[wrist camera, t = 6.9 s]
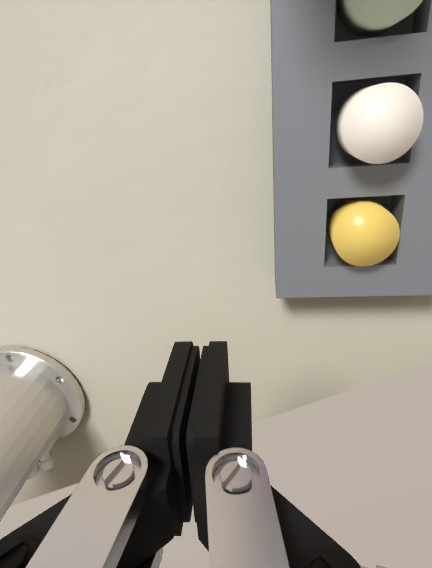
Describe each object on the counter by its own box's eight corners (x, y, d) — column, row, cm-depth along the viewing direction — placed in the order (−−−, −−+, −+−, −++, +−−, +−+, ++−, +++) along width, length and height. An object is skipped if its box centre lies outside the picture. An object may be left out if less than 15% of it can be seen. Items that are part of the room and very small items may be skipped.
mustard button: (382, 249, 28) (395, 265, 25) (325, 251, 29) (332, 267, 26) (388, 194, 26) (403, 204, 23) (327, 197, 27) (335, 208, 24)
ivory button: (399, 155, 24) (417, 161, 21) (332, 159, 25) (341, 166, 22) (407, 82, 22) (429, 78, 19) (336, 89, 23) (346, 86, 20)
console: (423, 275, 30) (442, 294, 27) (275, 279, 32) (276, 298, 28) (492, -129, 20) (535, -174, 17) (268, -92, 22) (269, -126, 18)
